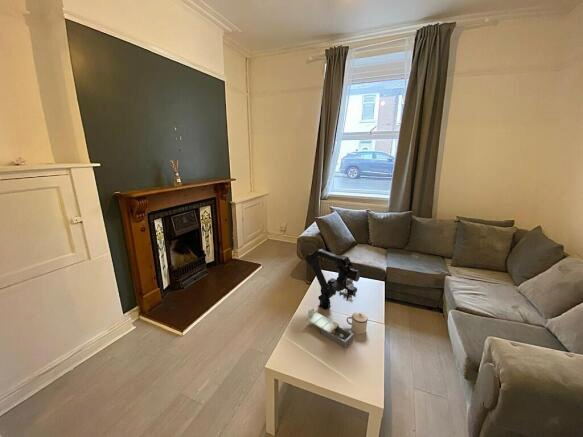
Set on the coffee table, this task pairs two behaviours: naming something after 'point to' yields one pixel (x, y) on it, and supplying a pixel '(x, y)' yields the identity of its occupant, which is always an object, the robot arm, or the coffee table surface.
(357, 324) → the teacup with lid
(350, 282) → the toy rover
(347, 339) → the tub
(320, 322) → the lid
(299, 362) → the coffee table surface
